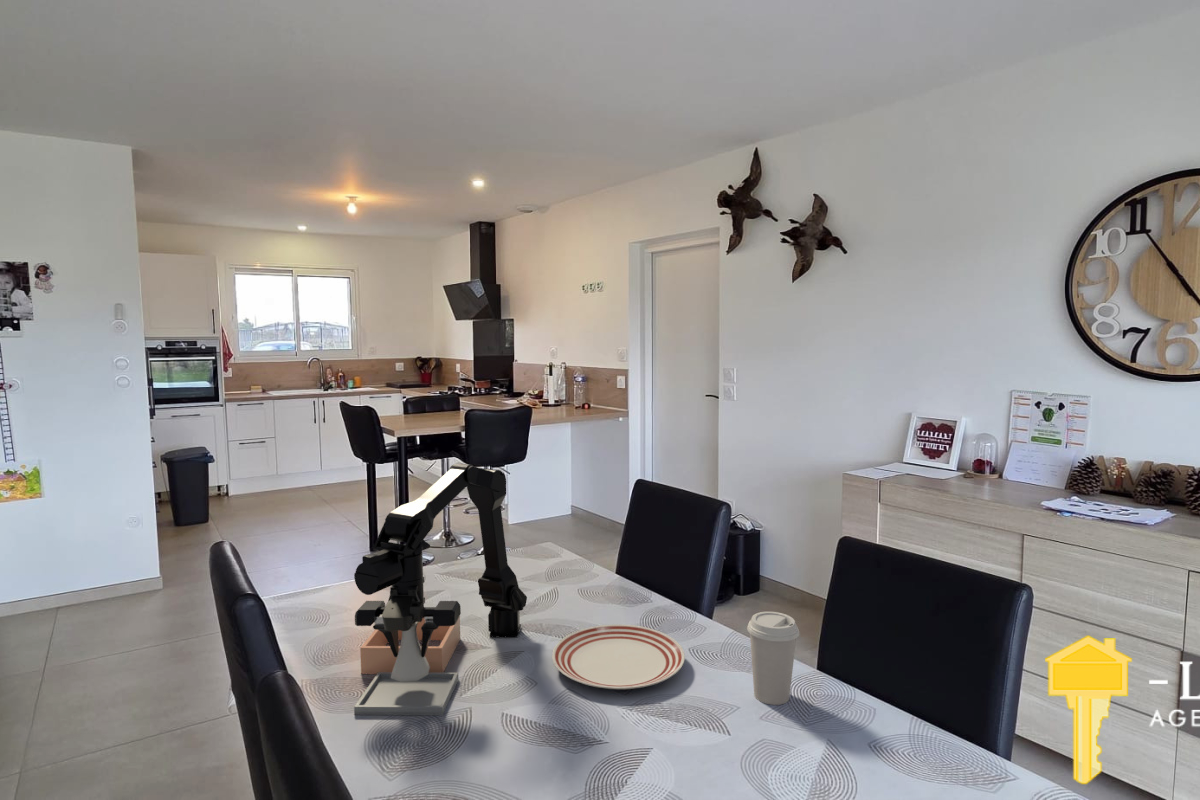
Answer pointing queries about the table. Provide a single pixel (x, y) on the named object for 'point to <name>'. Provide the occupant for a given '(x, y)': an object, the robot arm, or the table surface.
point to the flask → (410, 658)
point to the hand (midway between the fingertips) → (409, 656)
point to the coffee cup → (772, 655)
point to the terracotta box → (382, 657)
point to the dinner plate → (618, 656)
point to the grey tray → (407, 695)
